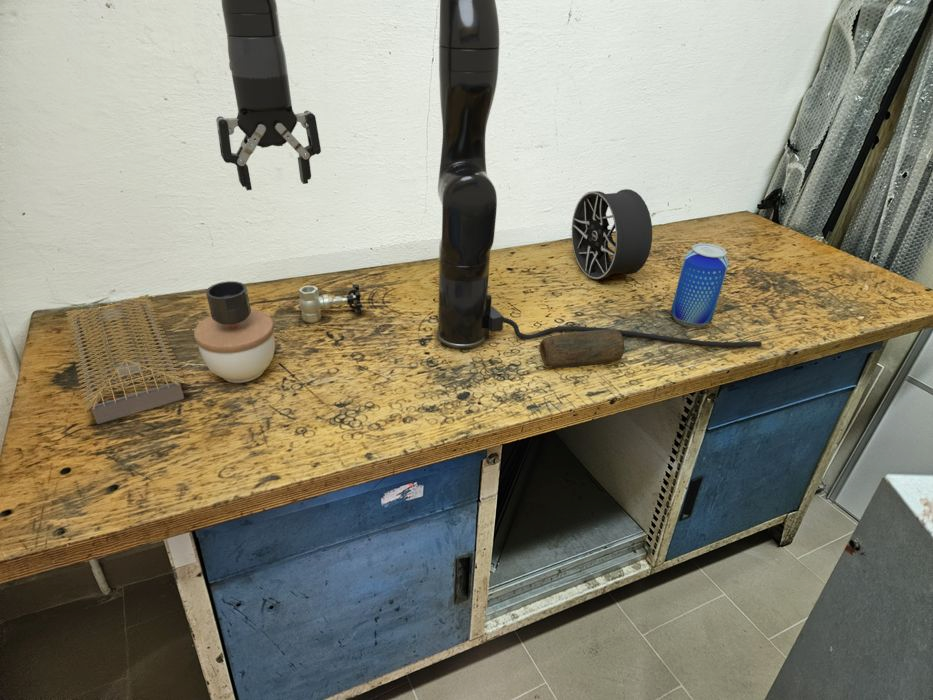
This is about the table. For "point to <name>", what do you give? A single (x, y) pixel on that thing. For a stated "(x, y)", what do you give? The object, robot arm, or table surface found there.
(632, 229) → the wheel rim
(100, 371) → the rafter model
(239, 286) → the dark gray metal cup
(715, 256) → the beer can
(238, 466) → the table surface
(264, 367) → the lidded bowl
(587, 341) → the brown wooden log
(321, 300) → the valve
